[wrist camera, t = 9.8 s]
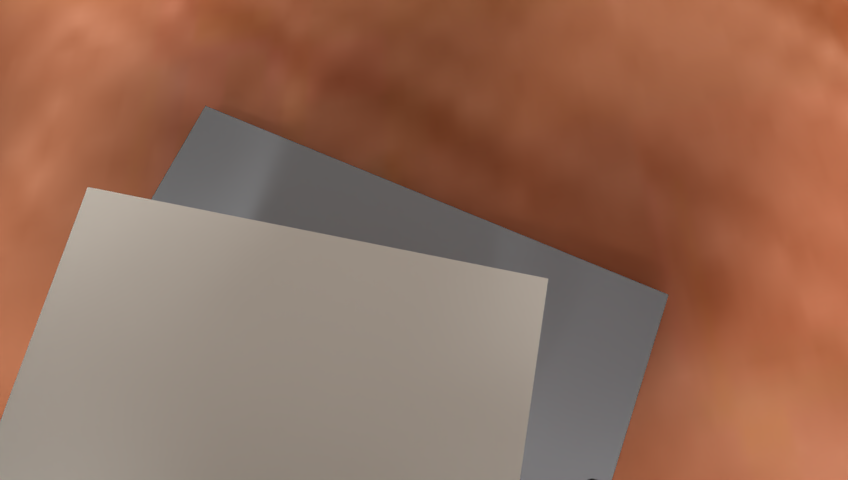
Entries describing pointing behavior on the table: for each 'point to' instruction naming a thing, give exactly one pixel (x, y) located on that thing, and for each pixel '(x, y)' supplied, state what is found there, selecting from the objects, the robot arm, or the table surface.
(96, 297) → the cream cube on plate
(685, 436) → the table surface
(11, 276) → the table surface
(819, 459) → the table surface
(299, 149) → the mat
